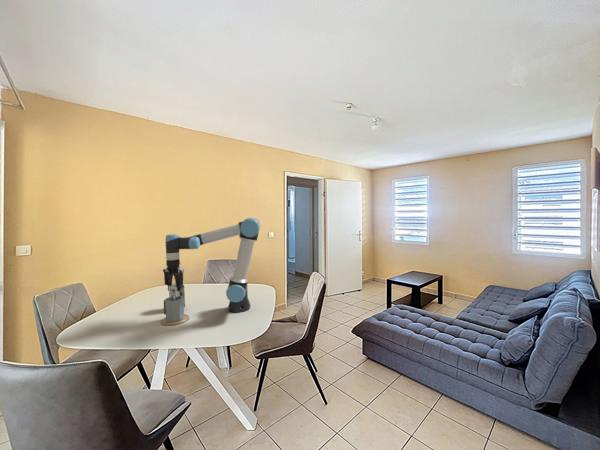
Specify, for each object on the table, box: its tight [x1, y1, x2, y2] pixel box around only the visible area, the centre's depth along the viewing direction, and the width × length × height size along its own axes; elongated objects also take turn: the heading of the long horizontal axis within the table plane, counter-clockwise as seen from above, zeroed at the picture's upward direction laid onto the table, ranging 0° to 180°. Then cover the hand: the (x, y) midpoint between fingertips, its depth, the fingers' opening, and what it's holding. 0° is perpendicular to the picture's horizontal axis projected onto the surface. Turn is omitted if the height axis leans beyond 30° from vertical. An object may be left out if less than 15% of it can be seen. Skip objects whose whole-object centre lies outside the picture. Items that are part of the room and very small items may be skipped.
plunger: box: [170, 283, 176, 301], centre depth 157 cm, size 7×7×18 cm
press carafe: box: [160, 296, 190, 327], centre depth 157 cm, size 16×16×14 cm
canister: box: [170, 284, 186, 308], centre depth 176 cm, size 10×10×18 cm
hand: (174, 296), depth 157 cm, fingers closed on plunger, 4 cm apart
